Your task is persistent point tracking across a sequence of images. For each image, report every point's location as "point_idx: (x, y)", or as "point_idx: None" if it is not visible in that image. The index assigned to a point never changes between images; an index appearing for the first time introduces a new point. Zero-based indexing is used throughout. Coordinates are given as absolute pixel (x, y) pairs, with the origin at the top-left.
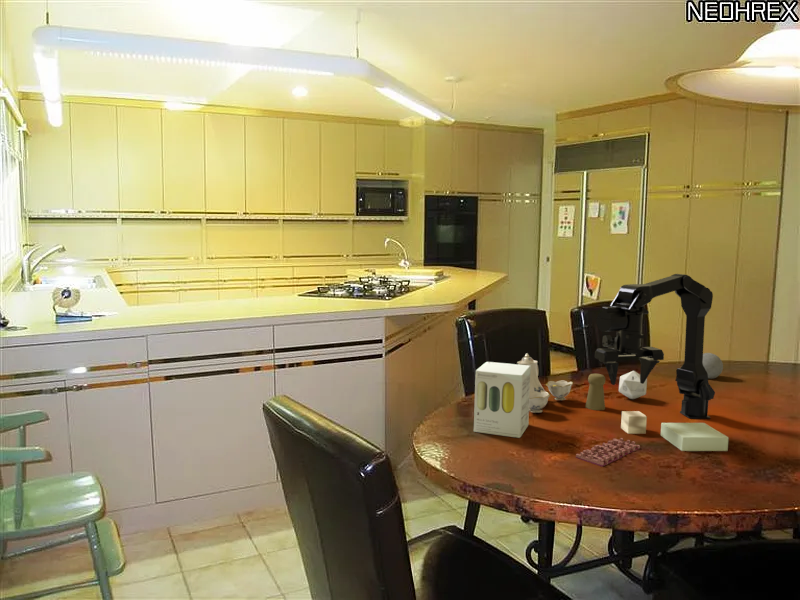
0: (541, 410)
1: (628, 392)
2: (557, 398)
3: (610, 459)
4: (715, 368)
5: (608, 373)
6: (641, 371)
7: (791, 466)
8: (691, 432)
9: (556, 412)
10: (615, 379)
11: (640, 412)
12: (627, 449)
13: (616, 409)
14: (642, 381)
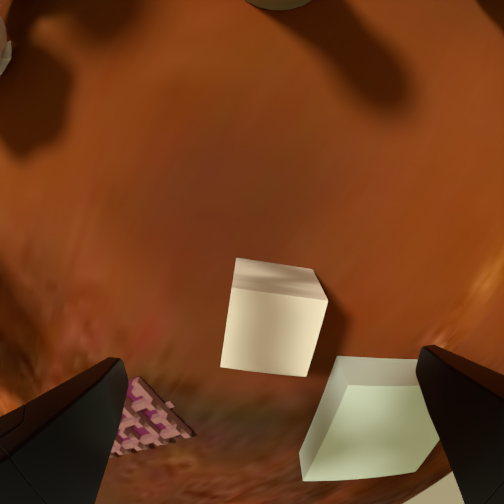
0: (5, 60)
1: None
2: None
3: None
4: None
5: (33, 405)
6: (482, 411)
7: (427, 487)
8: (362, 455)
9: (73, 28)
10: (109, 435)
11: (320, 321)
12: (143, 445)
13: (367, 10)
14: (422, 383)
